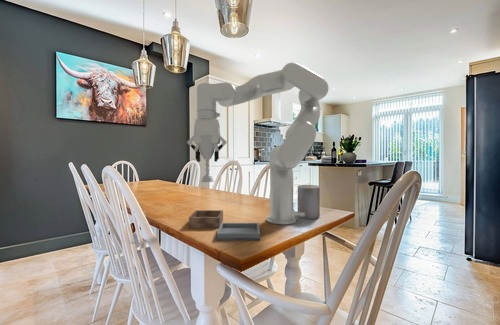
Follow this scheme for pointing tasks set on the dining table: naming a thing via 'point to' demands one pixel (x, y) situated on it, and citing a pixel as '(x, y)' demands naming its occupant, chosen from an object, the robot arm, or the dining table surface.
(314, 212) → the pillar candle
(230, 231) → the tray
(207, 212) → the brown square frame
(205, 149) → the chalice
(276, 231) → the dining table surface
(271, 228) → the dining table surface
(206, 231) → the dining table surface
